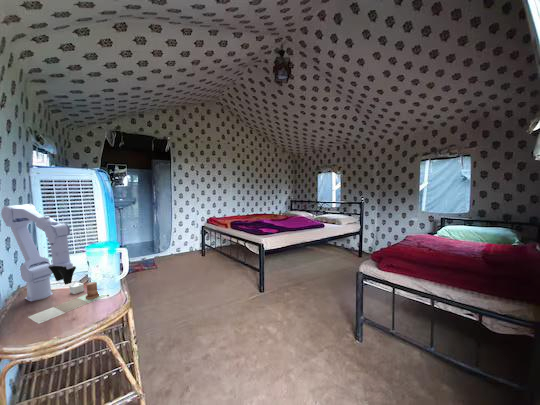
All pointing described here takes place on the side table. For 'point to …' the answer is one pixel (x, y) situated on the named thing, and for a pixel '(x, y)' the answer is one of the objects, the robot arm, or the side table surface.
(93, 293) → the pawn
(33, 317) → the board
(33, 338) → the side table surface
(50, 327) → the side table surface
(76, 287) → the die
